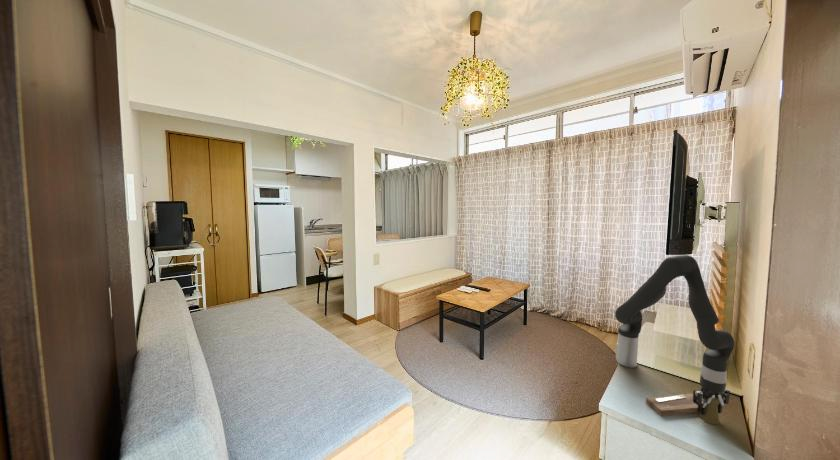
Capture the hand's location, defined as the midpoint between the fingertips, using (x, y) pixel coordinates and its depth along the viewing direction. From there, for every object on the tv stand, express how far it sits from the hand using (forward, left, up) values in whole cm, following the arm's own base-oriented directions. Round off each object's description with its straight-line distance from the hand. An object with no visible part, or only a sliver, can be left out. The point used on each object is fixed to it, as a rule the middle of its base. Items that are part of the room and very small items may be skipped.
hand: (709, 412), depth 122 cm
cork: (0, 0, -3) cm, 3 cm away
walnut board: (-8, -7, -3) cm, 11 cm away
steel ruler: (-10, -8, 0) cm, 12 cm away
